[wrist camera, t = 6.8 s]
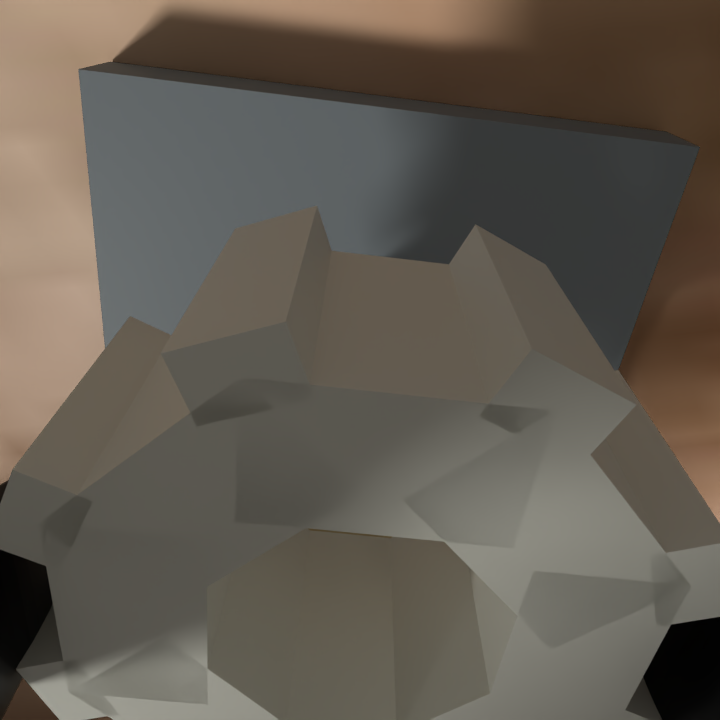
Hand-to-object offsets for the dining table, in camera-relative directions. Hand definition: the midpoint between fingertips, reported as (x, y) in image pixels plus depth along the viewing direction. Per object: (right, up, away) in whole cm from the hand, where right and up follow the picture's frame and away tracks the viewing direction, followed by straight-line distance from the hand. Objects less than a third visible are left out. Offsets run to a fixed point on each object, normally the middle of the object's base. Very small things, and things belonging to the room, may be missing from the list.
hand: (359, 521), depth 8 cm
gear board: (0, 0, +8) cm, 8 cm away
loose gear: (0, +1, +1) cm, 1 cm away
